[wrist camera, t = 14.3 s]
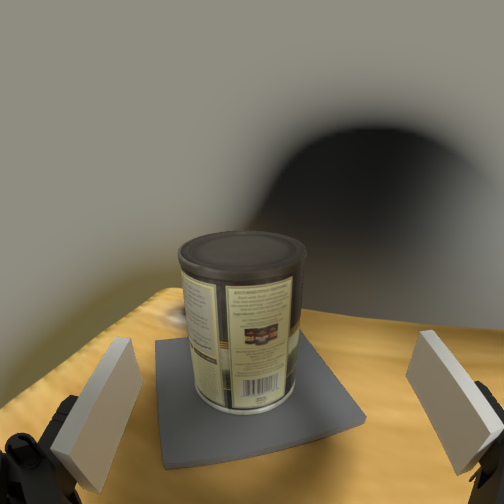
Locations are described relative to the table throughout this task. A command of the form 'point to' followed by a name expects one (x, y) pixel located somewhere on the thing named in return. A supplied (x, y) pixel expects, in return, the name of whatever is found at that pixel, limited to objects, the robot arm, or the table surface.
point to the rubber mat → (245, 426)
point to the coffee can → (243, 317)
